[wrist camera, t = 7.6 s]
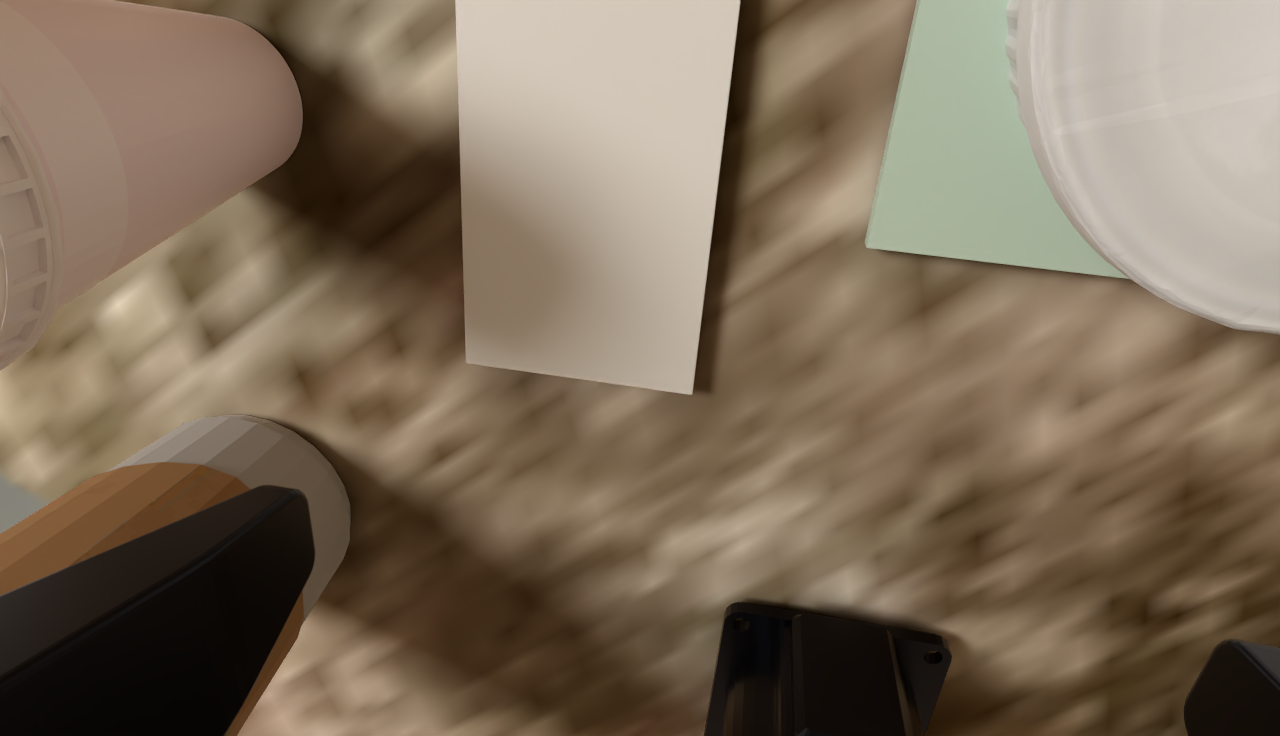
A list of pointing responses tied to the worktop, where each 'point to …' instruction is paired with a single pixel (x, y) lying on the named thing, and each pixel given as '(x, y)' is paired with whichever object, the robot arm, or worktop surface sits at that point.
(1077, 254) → the wooden handled dough scraper
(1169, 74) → the ramekin
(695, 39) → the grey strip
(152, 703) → the robot arm
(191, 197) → the smoothie
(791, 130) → the worktop surface
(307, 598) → the coffee cup
